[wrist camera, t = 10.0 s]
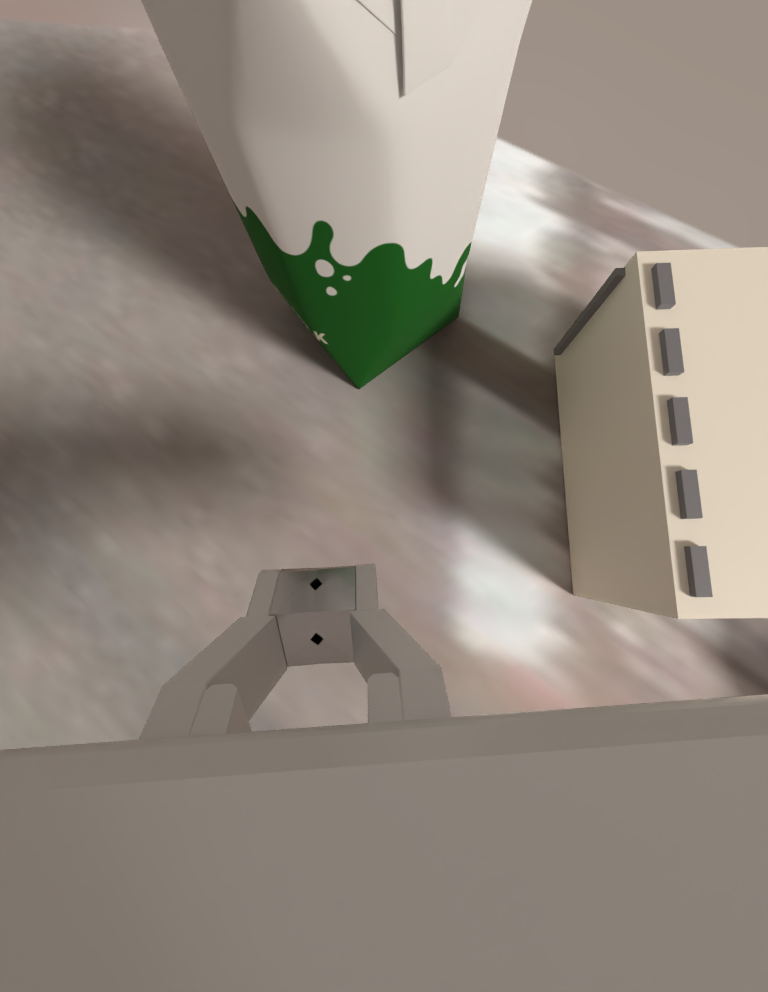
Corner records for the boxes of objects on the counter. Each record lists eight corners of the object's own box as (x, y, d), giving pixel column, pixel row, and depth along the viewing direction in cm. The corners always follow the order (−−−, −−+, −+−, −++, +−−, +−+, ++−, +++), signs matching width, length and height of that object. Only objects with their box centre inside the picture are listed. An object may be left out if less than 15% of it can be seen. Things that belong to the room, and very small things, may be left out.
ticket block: (566, 595, 21) (673, 620, 13) (548, 356, 23) (631, 246, 15) (693, 593, 21) (882, 618, 13) (664, 352, 23) (813, 239, 15)
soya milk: (481, 319, 24) (927, -930, 4) (353, 413, 23) (82, -473, 3) (387, 212, 25) (351, -1174, 5) (263, 298, 24) (-341, -871, 4)
